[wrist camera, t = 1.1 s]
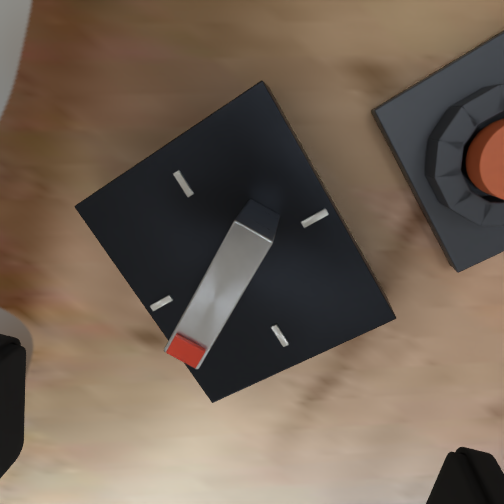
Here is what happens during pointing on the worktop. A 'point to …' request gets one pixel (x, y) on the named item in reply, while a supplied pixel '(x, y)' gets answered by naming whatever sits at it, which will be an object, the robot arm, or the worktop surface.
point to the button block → (451, 150)
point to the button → (487, 159)
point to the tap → (223, 283)
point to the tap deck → (215, 229)
